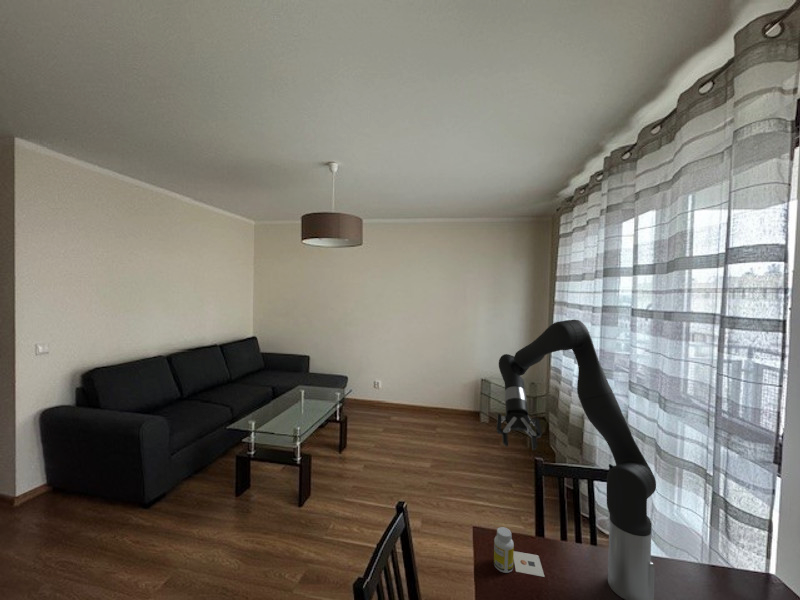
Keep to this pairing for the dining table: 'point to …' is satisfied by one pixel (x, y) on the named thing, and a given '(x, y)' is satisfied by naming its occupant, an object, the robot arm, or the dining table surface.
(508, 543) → the supplement bottle
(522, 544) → the dining table surface
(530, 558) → the tile
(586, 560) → the dining table surface
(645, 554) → the robot arm
